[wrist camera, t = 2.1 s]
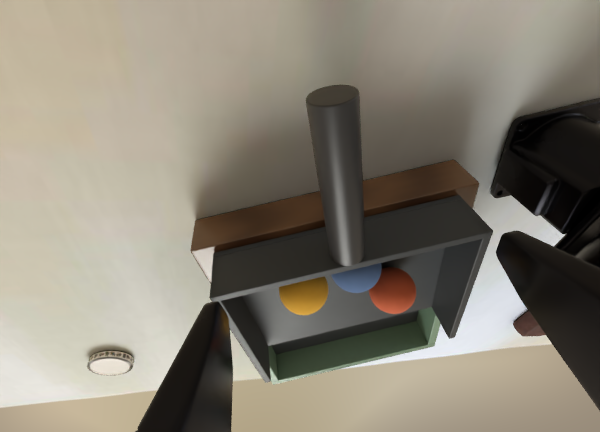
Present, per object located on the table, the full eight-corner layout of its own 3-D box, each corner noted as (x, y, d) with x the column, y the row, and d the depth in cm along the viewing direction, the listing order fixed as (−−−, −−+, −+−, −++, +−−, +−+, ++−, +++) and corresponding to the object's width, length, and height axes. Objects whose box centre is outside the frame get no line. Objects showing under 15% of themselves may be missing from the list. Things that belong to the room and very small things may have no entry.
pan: (434, 302, 27) (455, 338, 25) (262, 343, 27) (265, 384, 25) (496, 33, 13) (561, 52, 11) (138, 117, 13) (113, 156, 10)
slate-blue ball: (368, 231, 20) (383, 242, 17) (377, 275, 21) (393, 294, 18) (322, 242, 20) (328, 255, 17) (331, 286, 21) (340, 307, 18)
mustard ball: (324, 275, 22) (319, 250, 20) (335, 316, 20) (331, 294, 17) (281, 285, 22) (271, 261, 20) (287, 328, 20) (277, 307, 17)
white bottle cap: (120, 372, 32) (119, 379, 32) (81, 364, 30) (78, 370, 30) (142, 357, 31) (140, 363, 31) (102, 347, 29) (100, 353, 28)
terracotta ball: (402, 276, 24) (407, 253, 21) (420, 315, 21) (428, 294, 19) (362, 286, 24) (362, 264, 21) (376, 325, 21) (378, 306, 19)
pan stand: (454, 158, 21) (480, 182, 19) (431, 272, 30) (448, 297, 27) (194, 219, 21) (189, 251, 19) (247, 316, 30) (248, 345, 27)
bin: (431, 272, 30) (448, 297, 27) (422, 322, 36) (434, 346, 34) (247, 316, 30) (248, 345, 27) (270, 358, 36) (273, 384, 34)
